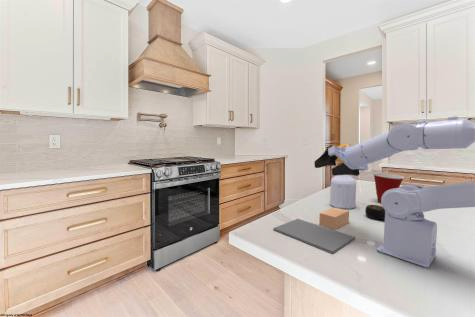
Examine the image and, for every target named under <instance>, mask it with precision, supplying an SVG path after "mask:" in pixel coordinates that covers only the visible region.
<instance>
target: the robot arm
mask: <svg viewBox="0 0 475 317" xmlns="http://www.w3.org/2000/svg"><path fill="white" fill-rule="evenodd" d="M474 143H475V123H474V122H472V121H471V120H469V119H467V118H459V116H457V115H455V116H448V117H447V119H445V120H436V121H427V122H426V120H418V121H417V124H412V123H410V122H409V123H408V122H404V123H401V124H398V125H395V126H394V127H392V128H391V129H390V130H389V131H386V132H385V133H383V134H379V135H375V136H372V137H371V138H369V139H366V140H365V141H362V142H359V143H357V144H354V145H353V146H351V145H347V146H346V147H344V148H343V147H338V146H335V145H329V146H327V147H326V148H325V151H324V152H323V153H322V154H321V155H320V156H319V157H318V158H317V159H316V160H314V168H315V169H319V168H323V167H328V166H330V167H331V166H332V167H333V166H334V167H333V168H331V175H332V176H333V177H335V176H337V175H349V176H356V177H358V176H360V173H361V172H365V171H367V170H369V165H370V164H372V163H375V162H377V161H382V160H384V159H387V158H389V157H392V156H393V155H396V154H399V153H402V152H406V151H414V150H415V151H417V150H418V149H419V148H421V149H423V150H443V149H444V150H450V149H452V150H454V149H459V150H460V149H467V148H470V146H471V145H473V144H474ZM337 158H339V159H340V161H342V162H343V163H342V164H340V163H339V164H338V165H337V163H336V161H335V160H337ZM380 204H381V206H382V207H383V208H384V210H385V219H384V226H383V227H384V228H383V230H384V231H383V243H381V244H380V245H379V246H378V247H377V248H376V251H377V252H379V253H382V254H386V255H388V256H391V257H394V258H397V259H401V260H403V261H406V262H409V263H412V264H416V265H418V266H421V267H424V268H429V267H430V266H431V264H432V263H433V261H434V259H435V257H436V255H437V254H436V252H437V249H436V247H437V232H438V224H437V222H435V221H433V220H429V219H426V218H425V214H424V213H426V212H431V211H434V210H441V209H442V210H443V209H446V210H447V209H460V208H464V209H465V208H475V180H474V181H466V182H465V181H464V182H458V183H457V182H456V183H449V184H439V185H424V186H422V185H418V184H413V183H407V184H403V185H400V187H398V188H395V189H390V190H387V191H386V192H385V193H384V194H383V195H382V198H381V203H380Z"/></svg>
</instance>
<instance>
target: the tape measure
mask: <svg viewBox="0 0 475 317" xmlns="http://www.w3.org/2000/svg"><path fill="white" fill-rule="evenodd" d="M364 212H365V215H366V216H367V217H368V218H372V219H375V220H385V210H384V208H383V206H382V205H378V204H368V205H366V207H365V211H364Z"/></svg>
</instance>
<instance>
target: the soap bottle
mask: <svg viewBox="0 0 475 317" xmlns="http://www.w3.org/2000/svg"><path fill="white" fill-rule="evenodd" d="M347 145H350V146H351V143H345V144H342V145H338V146H337V147H343V148H346V146H347ZM335 161H336V162H337V163H339V165H340V164H342V163H343V162H342V161H341V160H340V159H339V158H337V160H335ZM329 194H330V196H329V204H330V206H331V205H332V206H331V207H332V208H333V207H335V208H339V209H343V210H351V209H354V208H355V207H356V197H357V195H356V194H357V181H356V179H355V178H354V177H352V175H335V176H332V178H331V180H330V193H329Z"/></svg>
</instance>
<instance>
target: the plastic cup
mask: <svg viewBox="0 0 475 317" xmlns="http://www.w3.org/2000/svg"><path fill="white" fill-rule="evenodd" d="M372 175H373V178H374V184H375V190H376V198H377V202H378V204H382V203H381V198H382V195H383V194H384V193H385V192H386V191H387V190H390V189H395V188H398V187H401V184H402V182H403V180H404V179H405V177H404V176H402V175H398V174H394V173H393V174H392V173H385V172H373V173H372Z"/></svg>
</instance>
